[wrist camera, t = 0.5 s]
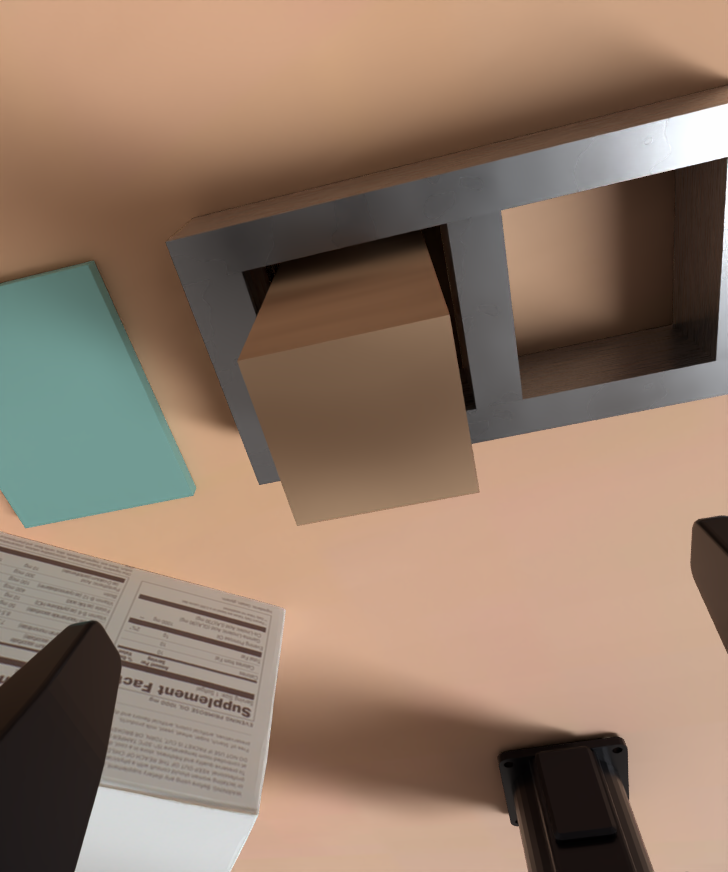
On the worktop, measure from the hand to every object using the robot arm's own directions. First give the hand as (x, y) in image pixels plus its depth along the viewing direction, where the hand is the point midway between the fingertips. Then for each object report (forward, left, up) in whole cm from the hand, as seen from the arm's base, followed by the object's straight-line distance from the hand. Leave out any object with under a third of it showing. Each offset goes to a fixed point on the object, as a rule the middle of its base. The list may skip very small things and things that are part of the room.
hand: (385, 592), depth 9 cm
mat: (-1, +12, -13) cm, 18 cm away
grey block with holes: (0, -3, -13) cm, 13 cm away
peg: (0, 0, -13) cm, 13 cm away
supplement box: (-16, +17, -13) cm, 27 cm away
